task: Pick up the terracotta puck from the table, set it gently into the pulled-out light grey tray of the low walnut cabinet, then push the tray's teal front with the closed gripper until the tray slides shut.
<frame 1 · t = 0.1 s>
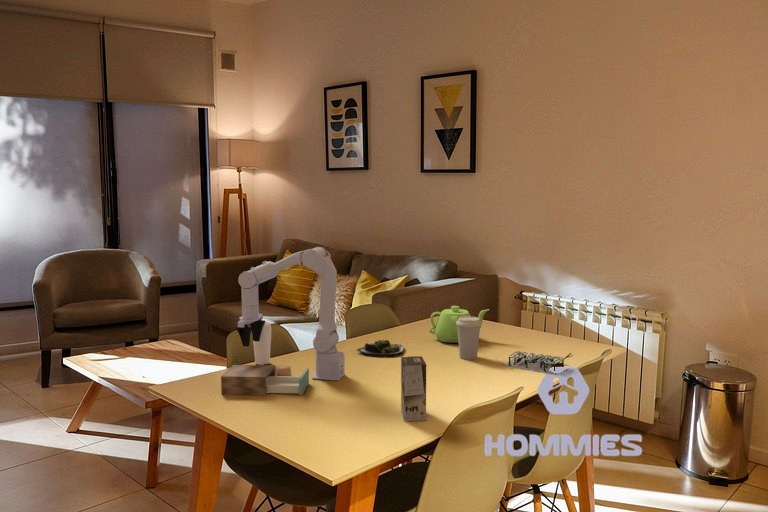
hand: (251, 343, 229), 10 cm above the table, tool pointing down, fingers open, 7 cm apart
coffee cup: (468, 358, 248), on the table
coffee box: (413, 416, 186), on the table
tray: (284, 380, 210), point 3 cm above the table, slide at 10.0 cm
white tall block: (262, 364, 240), on the table
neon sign: (544, 363, 242), on the table
teapot: (458, 340, 275), on the table
cabinet: (249, 388, 211), on the table
puck: (283, 377, 223), on the table
salad plate: (381, 353, 257), on the table
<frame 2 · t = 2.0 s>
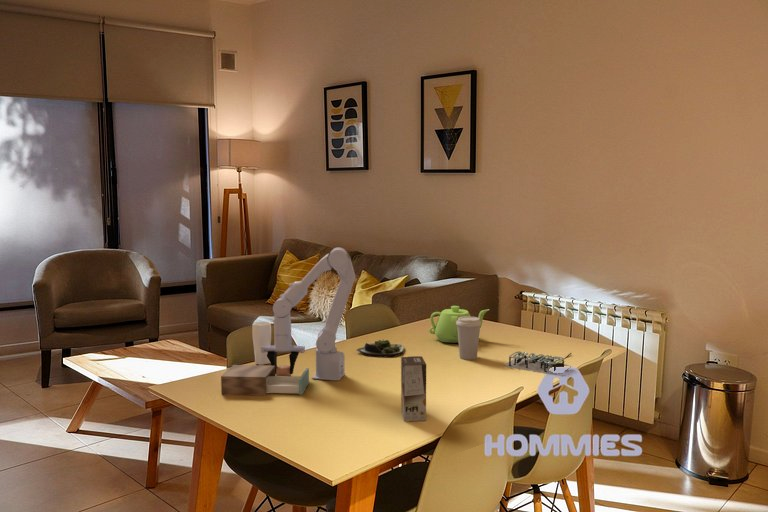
hand: (283, 373, 223), 1 cm above the table, tool pointing down, fingers closed on puck, 5 cm apart
puck: (283, 377, 223), on the table, touching gripper
everything else where it was.
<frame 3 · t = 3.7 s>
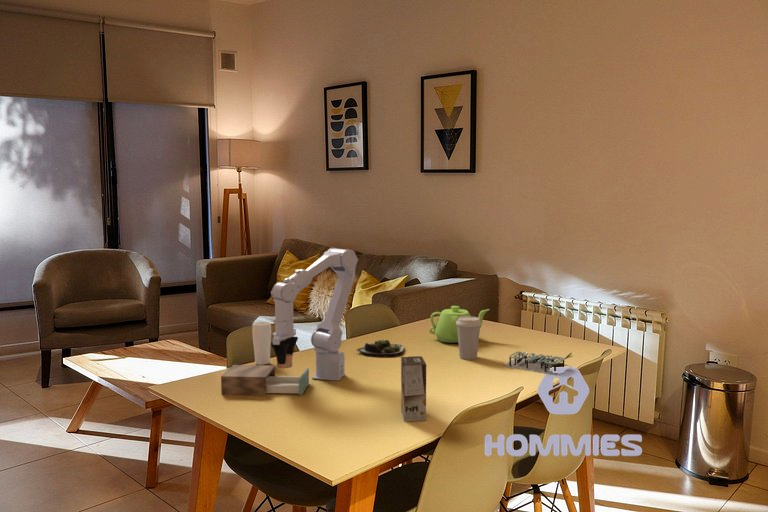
hand: (285, 361, 211), 8 cm above the table, tool pointing down, fingers closed on puck, 5 cm apart
puck: (284, 366, 211), point 7 cm above the table, touching gripper
everything else where it was.
when the fingers open (4 cm above the table, at t = 5.3 s): puck drops 1 cm, resting on tray.
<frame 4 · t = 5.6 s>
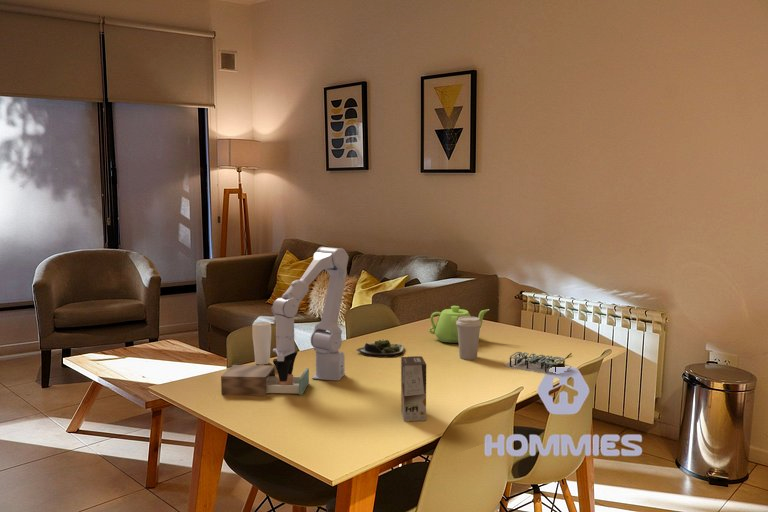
hand: (286, 377, 210), 4 cm above the table, tool pointing down, fingers open, 7 cm apart
tray: (284, 380, 210), point 3 cm above the table, slide at 10.0 cm, touching puck
puck: (285, 386, 210), point 1 cm above the table, touching tray
everything else where it was.
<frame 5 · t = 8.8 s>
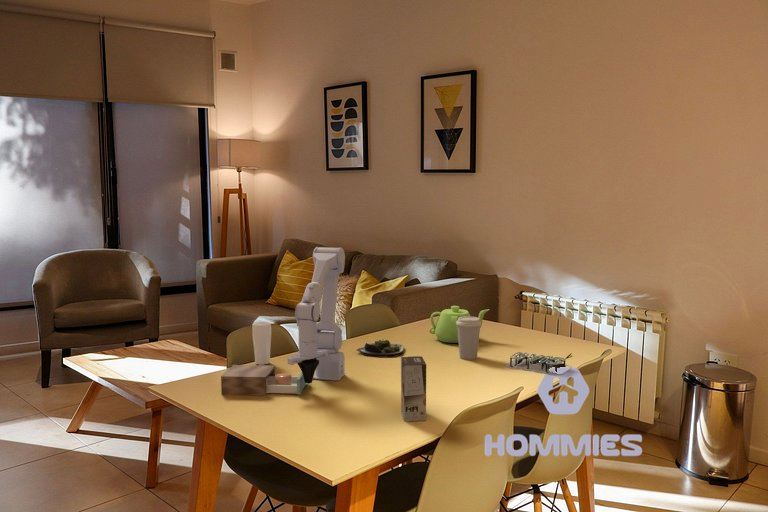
hand: (308, 382, 207), 3 cm above the table, tool pointing down, fingers closed
tray: (282, 380, 210), point 3 cm above the table, slide at 9.4 cm, touching gripper, puck
everything else where it was.
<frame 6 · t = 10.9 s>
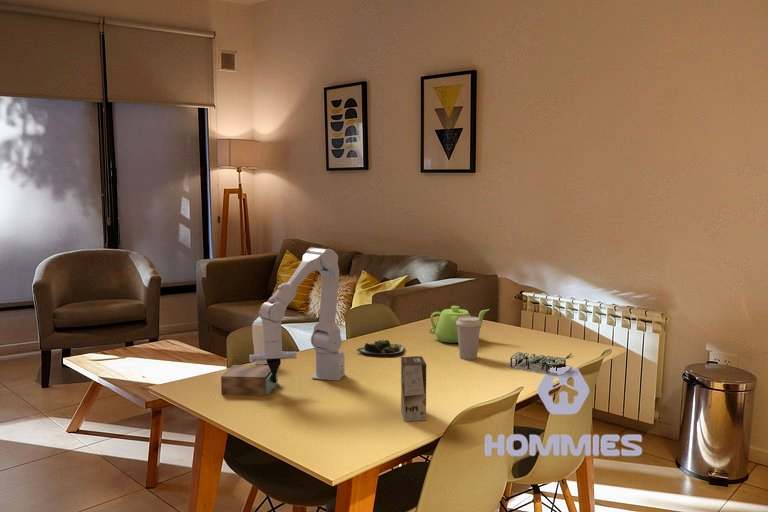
hand: (273, 382, 208), 3 cm above the table, tool pointing down, fingers closed, pressing on tray
tray: (251, 380, 210), point 3 cm above the table, slide at -0.4 cm, touching cabinet, gripper, puck
puck: (253, 385, 210), point 1 cm above the table, touching tray
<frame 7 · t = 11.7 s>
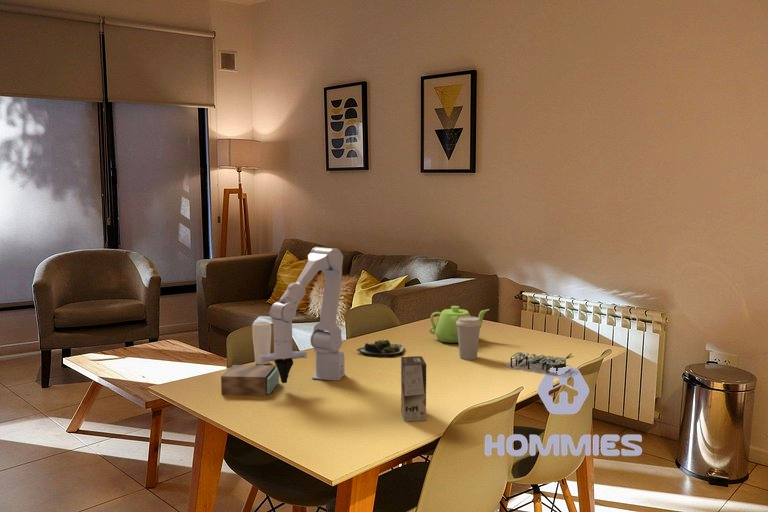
hand: (283, 382, 208), 3 cm above the table, tool pointing down, fingers closed
tray: (253, 380, 210), point 3 cm above the table, slide at 0.0 cm, touching puck
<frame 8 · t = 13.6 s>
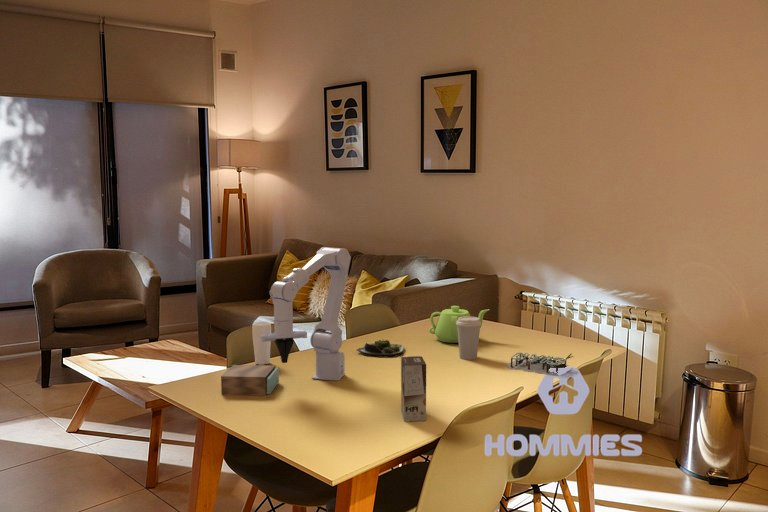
hand: (284, 362, 207), 9 cm above the table, tool pointing down, fingers closed
at the end: tray slide at 0.0 cm; puck inside the target area on the cabinet (0.8 cm from its centre), point 0.9 cm above the cabinet's base; puck tilted 1° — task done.
